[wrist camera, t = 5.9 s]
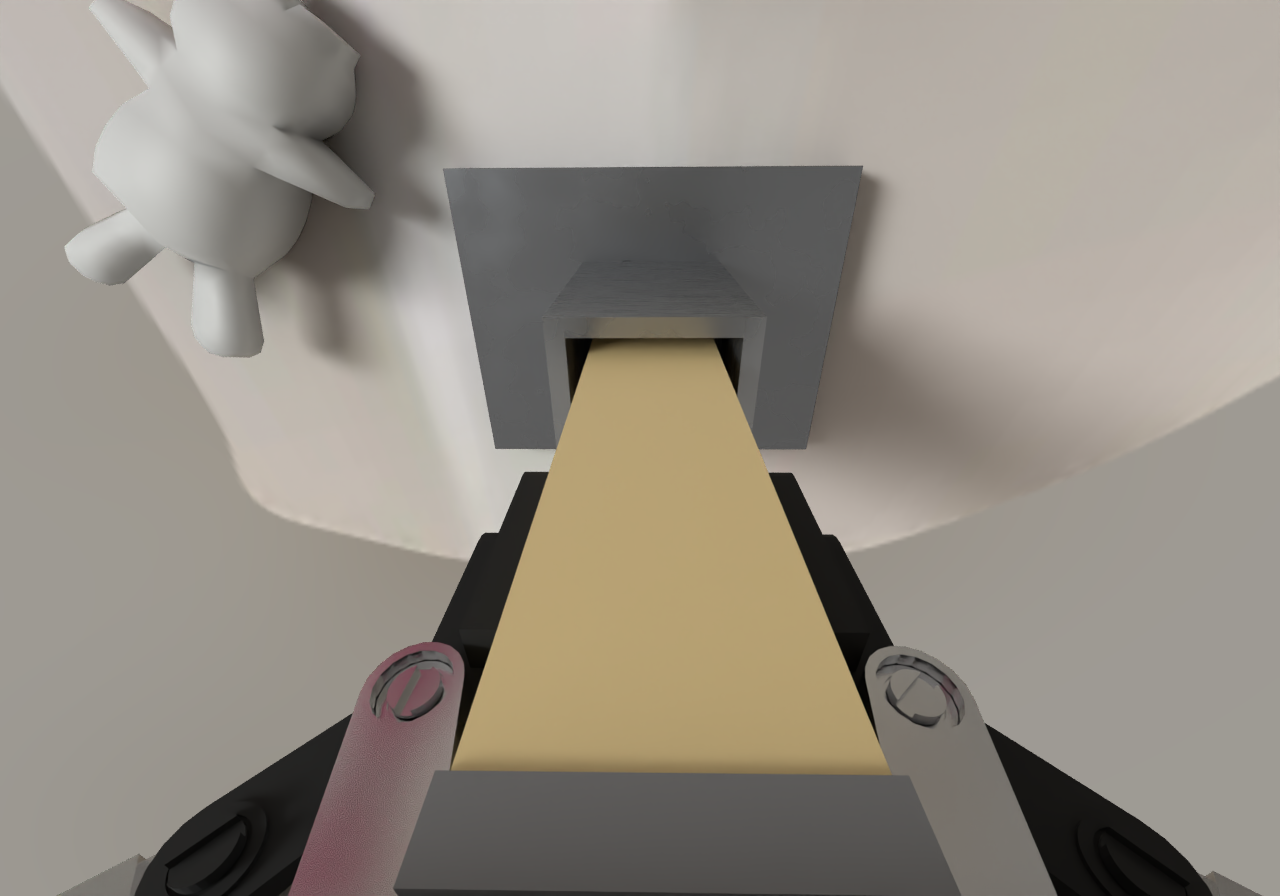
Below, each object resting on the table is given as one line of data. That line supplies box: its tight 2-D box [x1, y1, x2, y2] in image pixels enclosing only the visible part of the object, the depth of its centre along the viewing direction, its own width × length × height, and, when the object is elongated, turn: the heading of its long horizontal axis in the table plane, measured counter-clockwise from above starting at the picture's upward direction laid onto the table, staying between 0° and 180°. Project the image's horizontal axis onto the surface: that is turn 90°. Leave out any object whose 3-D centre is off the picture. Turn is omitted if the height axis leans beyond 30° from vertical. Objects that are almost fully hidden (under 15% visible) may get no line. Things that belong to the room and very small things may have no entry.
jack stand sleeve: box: [443, 166, 863, 449], centre depth 20 cm, size 18×14×12 cm
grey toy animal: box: [64, 0, 375, 357], centre depth 20 cm, size 10×5×15 cm
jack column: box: [393, 338, 961, 896], centre depth 12 cm, size 4×4×17 cm
